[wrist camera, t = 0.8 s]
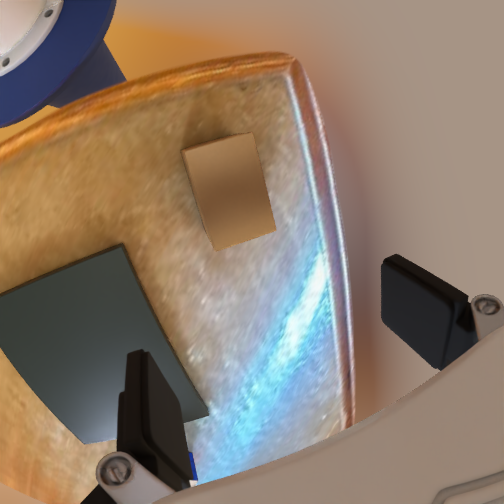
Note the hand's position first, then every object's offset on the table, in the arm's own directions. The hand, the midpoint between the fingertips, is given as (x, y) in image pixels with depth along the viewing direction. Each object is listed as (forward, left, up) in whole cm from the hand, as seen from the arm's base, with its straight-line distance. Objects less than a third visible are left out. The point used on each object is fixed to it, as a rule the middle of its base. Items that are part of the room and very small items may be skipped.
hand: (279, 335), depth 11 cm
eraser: (-3, +2, -16) cm, 16 cm away
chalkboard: (+10, -16, -16) cm, 25 cm away
